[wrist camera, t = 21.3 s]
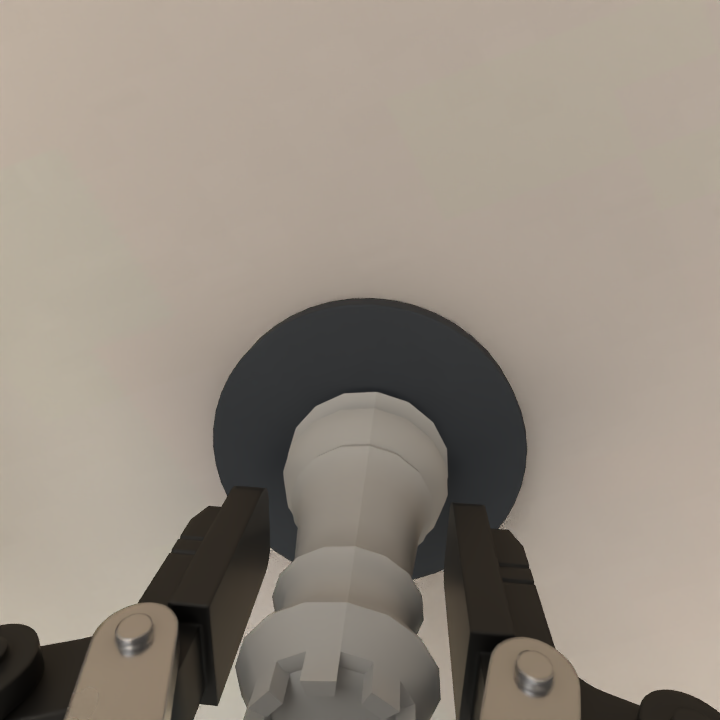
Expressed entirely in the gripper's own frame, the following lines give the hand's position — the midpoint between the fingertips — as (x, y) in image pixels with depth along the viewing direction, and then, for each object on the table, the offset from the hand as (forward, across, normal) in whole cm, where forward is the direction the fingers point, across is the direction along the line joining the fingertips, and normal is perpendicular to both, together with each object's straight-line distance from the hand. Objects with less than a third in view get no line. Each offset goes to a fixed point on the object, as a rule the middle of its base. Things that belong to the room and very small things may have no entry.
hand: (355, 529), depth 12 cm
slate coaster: (+4, 0, 0) cm, 4 cm away
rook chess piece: (+3, 0, 0) cm, 3 cm away
